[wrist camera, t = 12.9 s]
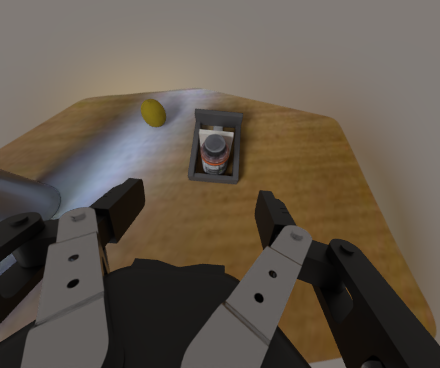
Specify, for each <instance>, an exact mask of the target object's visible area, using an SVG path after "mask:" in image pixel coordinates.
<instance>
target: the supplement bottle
mask: <svg viewBox="0 0 440 368" xmlns="http://www.w3.org/2000/svg"><path fill="white" fill-rule="evenodd" d="M201 158H202V165H203V169H204V171H205V173H206V174H211V175H223V174H224V173H225V171H226V168H227V163H228V158H229V146H228V144H227V143H226V142H225V139H224V138H223V137H222V136H221V135H218V134H211V135H209V136H208V137H207V138H206V139H205V141H204V143H203V144H202V146H201Z"/></svg>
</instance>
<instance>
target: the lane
mask: <svg viewBox="0 0 440 368" xmlns="http://www.w3.org/2000/svg"><path fill="white" fill-rule="evenodd" d="M195 118H196V124H195V131H194V137H193V144H192V150H191V157H190V164H189V170H188V178H189V180H193V181H204V182H215V183H226V184H237V182H238V171H239V151H240V131H241V123H242V118H243V113H235V112H225V111H214V110H204V109H195ZM202 125H209V126H220V127H230V128H235V134H234V150H233V166H232V176H223V175H211V174H200V173H195V172H196V165H197V158H198V150H199V143H200V137H199V130H200V129H201V128H202Z"/></svg>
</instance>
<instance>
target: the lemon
mask: <svg viewBox="0 0 440 368" xmlns="http://www.w3.org/2000/svg"><path fill="white" fill-rule="evenodd" d="M141 114H142V117H143V119H144V120H145V122H146V123H147V124H149V125H150V126H152V127H160V126H162V125H163V124H164V123H165V120H166V113H165V110H164V108H163V106H162V105H161V104H160V103H159V102H158V101H156V100H154V99H148V100H145V101H144V102H143V103H142V105H141Z"/></svg>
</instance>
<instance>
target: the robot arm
mask: <svg viewBox="0 0 440 368" xmlns="http://www.w3.org/2000/svg"><path fill="white" fill-rule="evenodd" d="M59 205H60V195H59V193H58V191H57V190H56V189H55V188H53V187H51V186H49V185H46V184H43V183H40V182H37V181H34V180H31V179H28V178H25V177H22V176H19V175H16V174H13V173H10V172H7V171H4V170H1V169H0V262H1V261H2V260H3V259H4V258H6V257H7V256H8V255H10V254H11V253H12V254H13V256H14V257H15V259H16V260H17V262H16V263H15V264H13V265H12V266H11V267H10V268H9V269H7V270H6V271H5V272H4V273H3V274H1V275H0V323H1V322H2V321H3V320H4V319H5V318H6V317H7V316H8V315H9V314H10V313H11V312H12V310H13V309H14V308H15V307H16V306H17V305H18V304H19V303H20V302H21V301H22V300H23V299H24V298H25V297H26V296H27V294H28V293H29V292H30V291H31V290H32V289H33V288H34V287H35V286H36V285H37V284H38V283H39V282H40V281H41V279H42V278H43V283H42V288H41V294H40V300H39V306H38V312H37V318H36V320H34V321H33V322H31V323H30V324H28V325H26V326H25V327H23V328H22V329H20V330H19V331H17V332H16V333H14V334H12V335H11V336H9V337H8V338H6V339H5V340H3V341H2V342H0V368H311V367H310V365H309V364H308V363H307V362H306V360H305V359H304V358H303V357H302V355H301V354H300V353H299V352H298V350H297V349H296V348H295V347H294V345H293V344H292V343H291V342H290V340H289V339H288V338H287V337H286V335H285V334H284V333H283V332H282V330H281V329H280V328H279V327H278V322H279V320H280V317H281V315H282V313H283V310H284V308H285V305H286V303H287V301H288V298H289V296H290V293H291V291H292V289H293V286H294V284H295V281H296V279H299V280H302V281H305V282H307V283H310V284H312V286H313V288H314V291H315V293H316V295H317V298H318V300H319V303H320V305H321V308H322V310H323V312H324V315H325V317H326V320H327V322H328V325H329V327H330V329H331V332H332V334H333V337H334V339H335V341H336V344H337V346H338V349H339V351H340V354H341V356H342V358H343V361H344V363H345V366H346V368H440V346H439V344H438V343H437V342H436V341H435V340H434V338H433V337H432V336H431V335H430V333H429V332H428V331H427V330H426V329H425V327H424V326H423V325H422V324H421V323H420V321H419V320H418V319H417V318H416V317H415V315H414V314H413V313H412V312H411V311H410V309H409V308H408V307H407V306H406V304H405V303H404V302H403V301H402V300H401V298H400V297H399V296H398V295H397V294H396V292H395V291H394V290H393V289H392V288H391V286H390V285H389V284H388V283H387V282H386V280H385V279H384V278H383V277H382V275H381V274H380V273H379V272H378V271H377V269H376V268H375V267H374V266H373V265H372V263H371V262H370V261H369V260H368V259H367V257H366V256H365V255H364V254H363V253H362V251H361V250H360V249H359V248H357V247H356V246H355V245H353V244H352V243H350V242H348V241H345V240H342V239H332V240H331V241H330V243H329V245H327V244H324V243H320V242H317V241H314V240H312V237H311V236H310V234H309V233H308V232H307V231H306V230H304V229H302V228H300V227H298V226H296V224H295V222H294V220H293V219H292V217H291V215H290V214H289V212H288V210H287V208H286V206H285V204H284V203H283V202H281V201H280V200H279V199H275V197H274V195H273V193H272V192H271V191H262V190H260V191H259V195H258V199H257V203H256V208H255V220H256V224H257V228H258V231H259V235H260V239H261V243H262V247H263V252H262V253H261V255H260V256H259V257H258V259H257V260H256V261H255V263H254V264H253V265H252V267H251V268H250V269H249V271H248V272H247V273H246V275H245V276H244V277H243V279H242V280H241V281H239V280H238V279H236V278H235V277H233V276H231V275H229V274H226V273H225V266H224V265H211V264H198V265H191V266H185V267H176V266H173V265H170V264H167V263H165V262H162V261H159V260H150V259H138V258H135V260H134V262H133V264H132V265H131V266H128V267H124V268H120V269H118V270H115V271H113V272H110V268H109V263H108V257H107V251H106V247H105V246H106V245H107V243H116V244H117V243H118V242H119V240H120V239H121V237H122V236H123V235H124V233H125V232H126V231H127V229H128V228H129V227H130V225H131V224H132V222H133V221H134V220H135V218H136V217H137V216H138V214H139V213H140V212H141V210H142V209H143V207H144V205H145V194H144V186H143V181H142V179H135V178H129V179H127V180H126V181H125V182H124V183H123V184H120V185H118V186H116V187H113V188H112V189H111V190H109V191H108V192H107V193H106V194H104V195H103V197H101V198H99V199H98V200H97V201H96V202H95V203H93V204H92V205H91V206H90V207H83V208H77V209H73V210H71V211H68V212H66V213H65V214H63V215H62V216H61V217H60V219H54V220H49V219H50V218H51V217H52V216H53V215H54V214H55V213H56V211H57V210H58V208H59ZM345 287H346V288H347V289H348V291H349V293H350V294H351V297H352V299H353V300H352V299H351V297H350V295H349V293H348V292H347V290H346V288H345Z"/></svg>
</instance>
